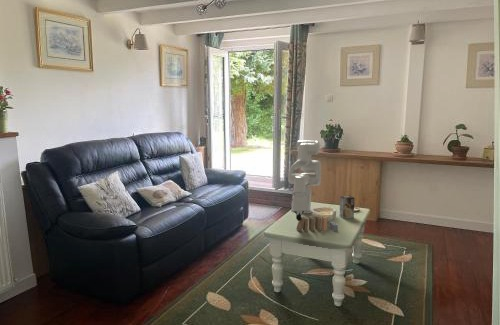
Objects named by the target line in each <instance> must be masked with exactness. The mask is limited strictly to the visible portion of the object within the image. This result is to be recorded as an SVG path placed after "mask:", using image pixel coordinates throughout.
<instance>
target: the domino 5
mask: <svg viewBox="0 0 500 325" xmlns="http://www.w3.org/2000/svg"><path fill="white" fill-rule="evenodd" d="M320 218H321V224H320V230H323V231H324V232H326V231H327V228H328V218H327V217H326V216H325V215H321V217H320Z"/></svg>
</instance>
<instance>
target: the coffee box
mask: <svg viewBox="0 0 500 325" xmlns="http://www.w3.org/2000/svg"><path fill="white" fill-rule="evenodd" d="M354 216H355V197H353V196H351V195H340V196H339V217H340V218H341V219H353V218H354Z"/></svg>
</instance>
